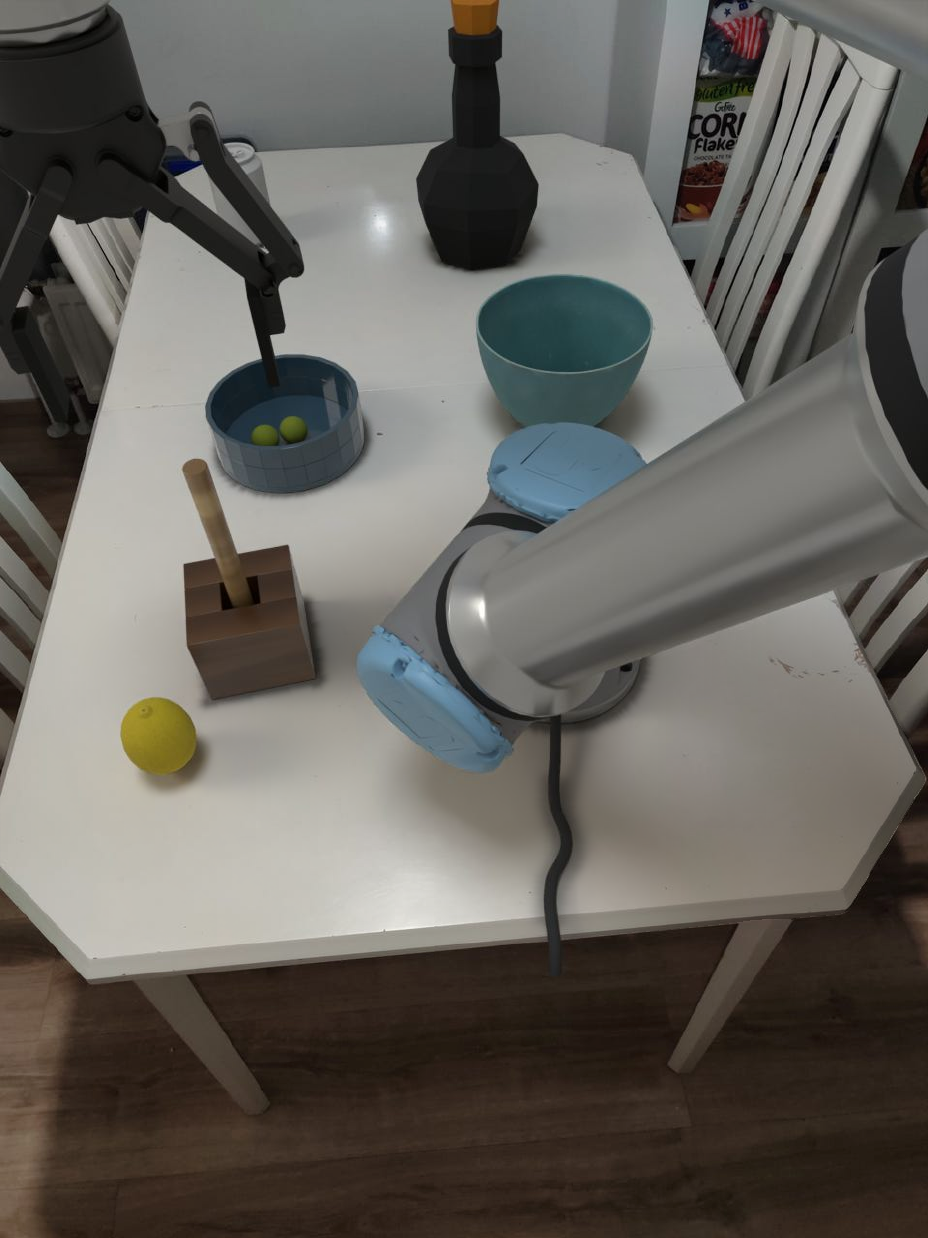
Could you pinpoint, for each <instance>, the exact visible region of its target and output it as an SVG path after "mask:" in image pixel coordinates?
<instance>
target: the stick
mask: <svg viewBox="0 0 928 1238" xmlns="http://www.w3.org/2000/svg"><path fill="white" fill-rule="evenodd" d="M181 467H182V468H181V470H182V471H181V472H182V473H183V477H184V479H185V482H186V484H187V487H188V490H189V493H190V495H191V498H192V501H193V504H194V506H195V508H196V511H197V514H198V516H199V519H200V522H201V525H202V527H203V530H204V533H205V536H206V538H207V540H208V544H209V546H210V549H211V552H212V555H213V558H215V560H216V563H217V565H218V568H219V571H220V573H221V576H222V579H223V581H224V584H225V587H226V589H227V592H228V595H229V598H230V600H231V603H232V606H233V608H239V607H245V606H250V605H255V603H254V601H253V598H252V595H251V592H250V589H249V586H248V583H247V580H246V577H245V574H244V571H243V568H242V565H241V562H240V559H239V556H238V554H239V553H238V551H237V550H238V549H237V548H236V544H235V541H234V539H233V536H232V533H231V529H230V527H229V524H228V522H227V518H226V515H225V512H224V509H223V506H222V504H221V500H220V498H219V494H218V491H217V488H216V485H215V483H214V480H213V477H212V474H211V470H210V469H209V465H208V463H207V461H206V460H204V459H203V458H191V459H189V460H187V461H185V462H184V464H182V466H181Z"/></svg>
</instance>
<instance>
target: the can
mask: <svg viewBox="0 0 928 1238" xmlns="http://www.w3.org/2000/svg"><path fill="white" fill-rule="evenodd" d="M223 144H224V145H225V147H226V148H227V149H228V151H229V152H230V153H231V155H232V156H233V157H234V159H235V160H236V161H237V162H238V164H239V165H240V166H241V168H242V169H243V170H244V172H245V173H246V174H247V176H248V177H249V178H250V180H251V181H252V182H253V184H254V185H255V186H256V188H257V189H258V190H259V192H260V193H261V194H262V196H263V197H264V198H265V200H266V201H267V202H268V203H269V205H270V206H271V202H270V195H269V192H268V186H267V181H266V176H265V171H264V166H263V162H262V159H261V157H260V156H259V155H258V154H256V152H255V151H256V150H255V148H254V147H253V146H252V145H250V144H249V143H245V142H227V143H223ZM207 178H208V182H209V186H210V189H211V190H210V191H211V194H212V198H213V202H214V206H215V210H216V214H217V215H218V216H220V217H221V218H222V219H224V220H225V221H226V222H227V223H229V224H230V225H231V226H232V227H234V228H235V229H236V230H237V231H239V232H240V233H241V234H243V235H244V236H245V237H246V238H248V239H249V240H250V241H251V242H253V243H254V244H255V245H256V246H258V247H260V246H263V244H262V243H261V242H260V240H259V239H258V238H257V237H256V235H255V234H254V233H253V232H252V230H251V229H250V228H249V227H248V225H247V224H246V223H245V222H244V220H243V219H242V218H241V217H240V215H239V214H238V213H237V212H236V210H235V209H234V208H233V207H232V205H231V204H230V203H229V202H228V200H227V199H226V198H225V197H224V195H223V194H222V193H221V191H220V190H219V189H218V188H217V186H216V185H215V184H214V183H213V181H212V180H211V178H210V177H209V176H208V175H207Z"/></svg>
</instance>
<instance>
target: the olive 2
mask: <svg viewBox="0 0 928 1238" xmlns="http://www.w3.org/2000/svg"><path fill="white" fill-rule="evenodd" d="M280 434H281V437H282V438H283V439H284V440H285V441H286V442H288V443H290V444H295V443H300V442H302V441H303V440H304V439H305V438H306V436H307V425H306V423H305V422H304V421H303V420H302V419H301V418H299V417H296V416H290V417H287V418H285V419H284V420H283V421H282V423H281V425H280Z"/></svg>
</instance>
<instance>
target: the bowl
mask: <svg viewBox="0 0 928 1238" xmlns="http://www.w3.org/2000/svg"><path fill="white" fill-rule="evenodd" d="M275 359H276V363H277V369H278V375H279V381H280V386H278V387H272V388H269V386H268V382H267V378H266V374H265V370H264V366H263V362H262V358H261V357H260V358H258V359H255V360H252V361H250V362H245V364H242V365H240V366H238V367H237V368H234V369H233V370H231V371H230V372H228V373H227V374H226V375H224V376H223V377H222V378H221V379H220V380H218V381H217V383H215V385H214V386H213V388H212V389H211V390H210V392H209V393H208V396H207V399H206V402H205V405H204V410H205V421H206V423H207V426H208V429H209V432H210V435H211V438H212V441H213V445H214V447H215V450H216V454H217V456H218V459H219V461H220V463H221V466H222V468H223V469H224V471H225V472H226V473H227V475H228V476H230V477H231V479H233V480H234V481H236V482H237V483H238V484H241V485H243V486H244V487H247V488H249V489H252V490H254V491H255V490H256V491H260V492H264V493H273V494H274V493H275V494H286V493H288V494H289V493H297V492H303V491H307V490H311V489H315V488H317V487H320V486H323V485H325V484H327V483H330V482H331V481H333V480H335V479H337V478H338V477H340V476H342V475H343V474H344V473H345V472H347V471H348V470H349V469H350V468H351V467H352V466H353V465H354V464H355V462H357V460H358V458H359V456H360V455H361V454H362V453H361V452H362V450H363V447H364V443H365V428H364V422H363V421H364V420H363V415H362V408H361V401H360V394H359V389H358V386H357V382H356V380H355V379H354V377H353V376H352V375H351V373H350V372H349V371H348V370H347V369H345V368H344V367H343V366H341V365H340V364H338V363H337V362H334V361H332V360H329V359H327V358H324V357H320V356H317V355H310V354H305V353H304V354H303V353H297V354H296V353H286V354H285V353H284V354H278V355H275ZM290 416H296V417H299V418H301V419H302V420H303V421H304V422H305V423H306V425H307V436H306V438H305V439H304V440H303V441H302V442H300V443H295V444H290V443H288V442H286V441H285V440H284V439H283V438H282V437H281V434H280V425H281V423H282V421H283V420H284V419H285V418H287V417H290ZM260 425H270V426H272V427H273V428H275V429H276V430H277V432H278V434H279V438H280V440H279V445H278V446H258V445H253V444H252V440H251V436H252V432H253V431H254V429H255V428H256V427H258V426H260Z"/></svg>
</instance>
